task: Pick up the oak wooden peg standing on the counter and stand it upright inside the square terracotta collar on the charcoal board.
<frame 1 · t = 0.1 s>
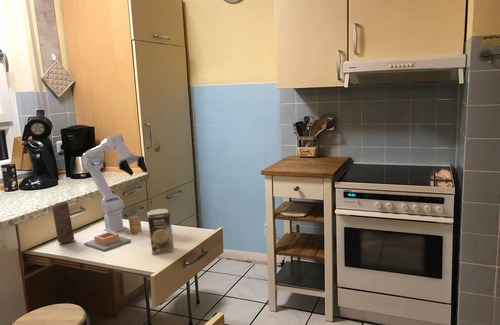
hand: (139, 172, 193), 32 cm above the table, tool tilted 50°, fingers open, 7 cm apart
oak peg: (136, 232, 208), on the table
collar board: (107, 243, 195), on the table
coffee box: (163, 251, 178), on the table
candle: (66, 242, 202), on the table
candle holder: (160, 235, 200), on the table
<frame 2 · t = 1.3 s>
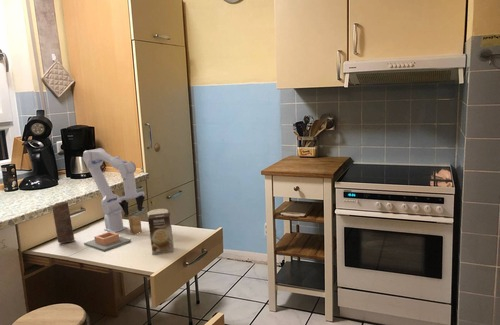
hand: (133, 212, 206), 10 cm above the table, tool pointing down, fingers open, 7 cm apart
nothing on the table moved.
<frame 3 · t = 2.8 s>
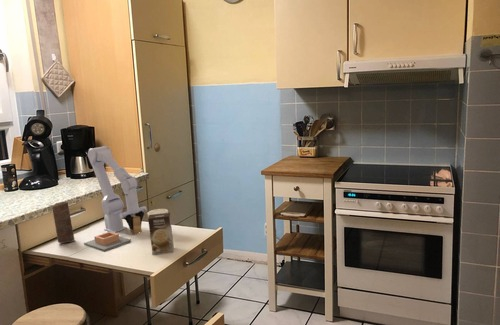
hand: (135, 227, 208), 2 cm above the table, tool pointing down, fingers closed on oak peg, 4 cm apart
oak peg: (136, 232, 208), on the table, touching gripper
everything else where it was.
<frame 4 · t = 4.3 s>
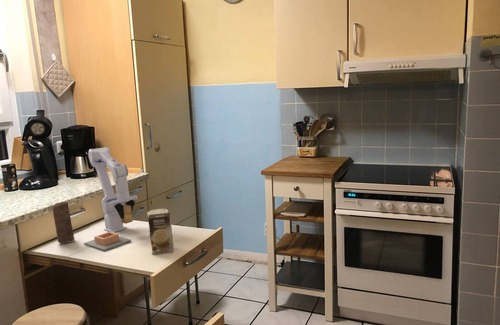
hand: (126, 217, 203), 9 cm above the table, tool pointing down, fingers closed on oak peg, 4 cm apart
oak peg: (127, 222, 203), point 7 cm above the table, touching gripper
everything else where it was.
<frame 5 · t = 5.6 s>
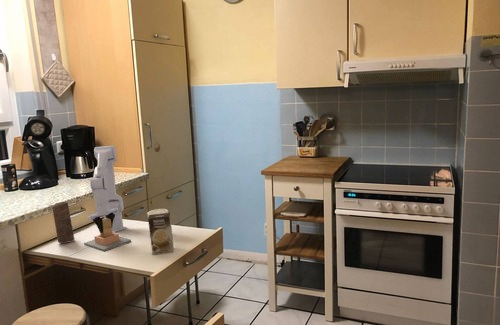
hand: (105, 230, 194), 6 cm above the table, tool pointing down, fingers closed on oak peg, 4 cm apart
oak peg: (106, 236, 194), point 4 cm above the table, touching gripper
everything else where it was.
when the fingers open (5 cm above the table, at t = 6.2 s): oak peg drops 1 cm, resting on collar board.
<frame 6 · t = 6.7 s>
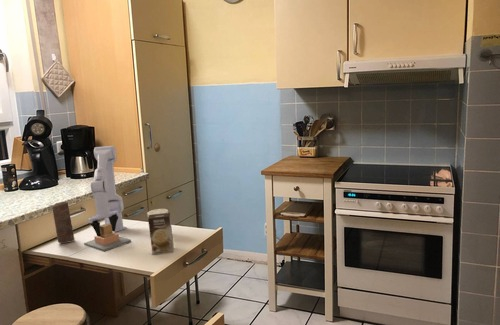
hand: (106, 233, 194), 5 cm above the table, tool pointing down, fingers open, 7 cm apart
oak peg: (107, 241, 195), point 1 cm above the table, touching collar board
everything else where it was.
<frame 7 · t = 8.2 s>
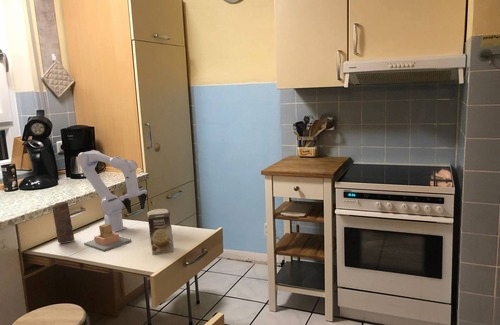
hand: (136, 210, 210), 10 cm above the table, tool pointing down, fingers open, 7 cm apart
nothing on the table moved.
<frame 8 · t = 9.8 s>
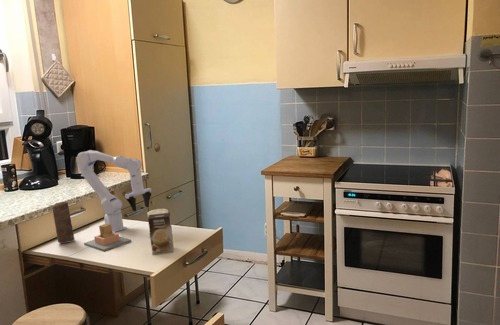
hand: (140, 208, 213), 10 cm above the table, tool pointing down, fingers open, 7 cm apart
nothing on the table moved.
at the end: oak peg 0.2 cm off-centre on the collar board, point 1.0 cm above the collar board's base; oak peg tilted 0°; the gripper is holding nothing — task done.
